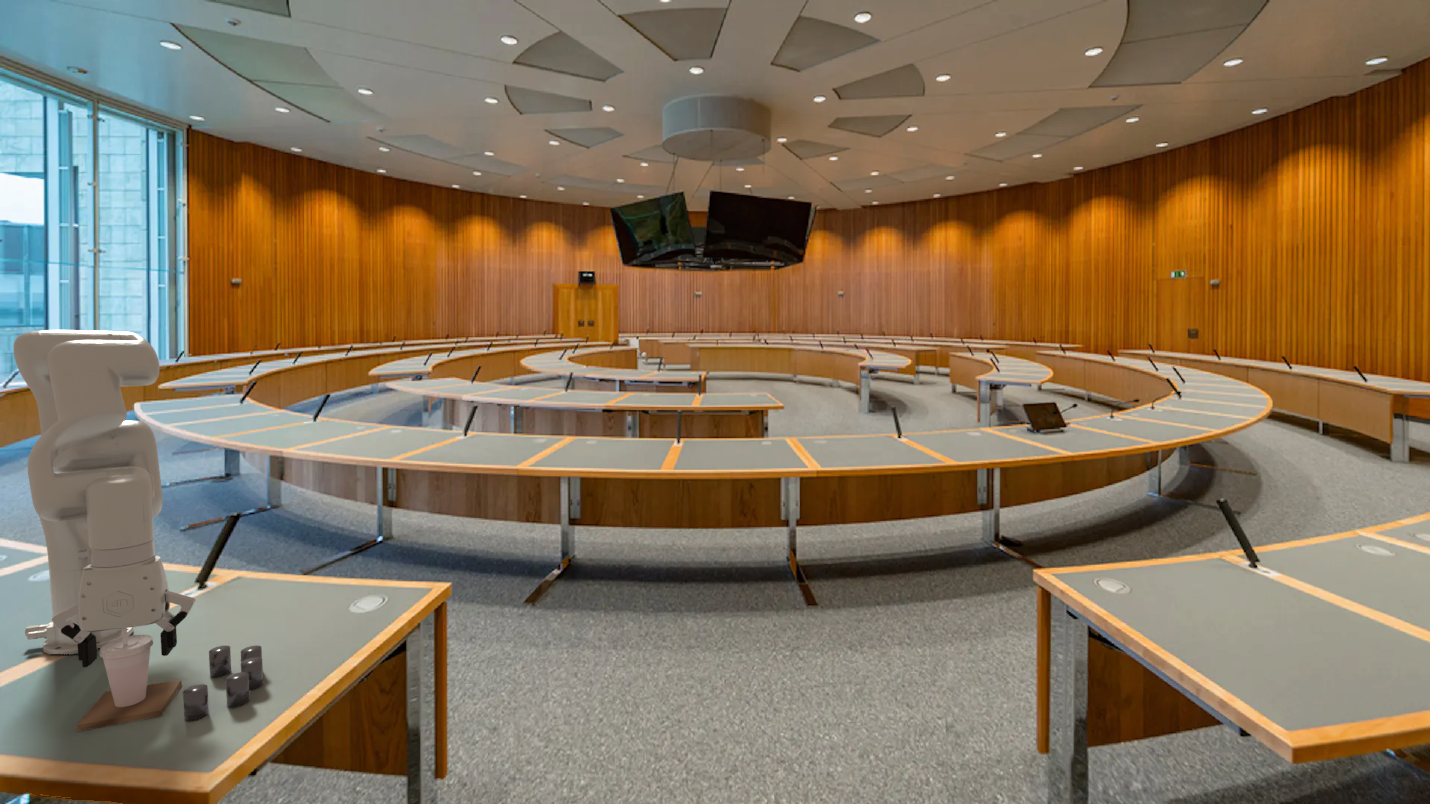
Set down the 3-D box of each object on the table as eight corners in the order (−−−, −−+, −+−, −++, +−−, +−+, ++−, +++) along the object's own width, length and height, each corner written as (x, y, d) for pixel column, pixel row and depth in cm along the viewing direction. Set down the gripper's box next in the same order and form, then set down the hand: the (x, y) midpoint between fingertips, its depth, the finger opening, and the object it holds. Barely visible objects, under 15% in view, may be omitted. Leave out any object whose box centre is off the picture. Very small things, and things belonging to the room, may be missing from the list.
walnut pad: (77, 731, 97) (76, 725, 97) (105, 697, 106) (105, 691, 106) (161, 716, 101) (160, 710, 101) (181, 685, 110) (181, 679, 110)
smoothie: (96, 716, 99) (90, 629, 98) (111, 695, 105) (105, 613, 103) (150, 705, 102) (144, 621, 101) (161, 686, 108) (156, 606, 106)
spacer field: (181, 723, 99) (180, 696, 99) (212, 671, 115) (211, 647, 114) (251, 711, 103) (250, 684, 103) (272, 662, 119) (271, 638, 118)
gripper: (36, 568, 94) (44, 679, 96) (184, 555, 101) (189, 658, 103) (61, 552, 101) (69, 656, 102) (198, 541, 108) (203, 638, 110)
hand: (129, 657), depth 103 cm, fingers open, 9 cm apart
